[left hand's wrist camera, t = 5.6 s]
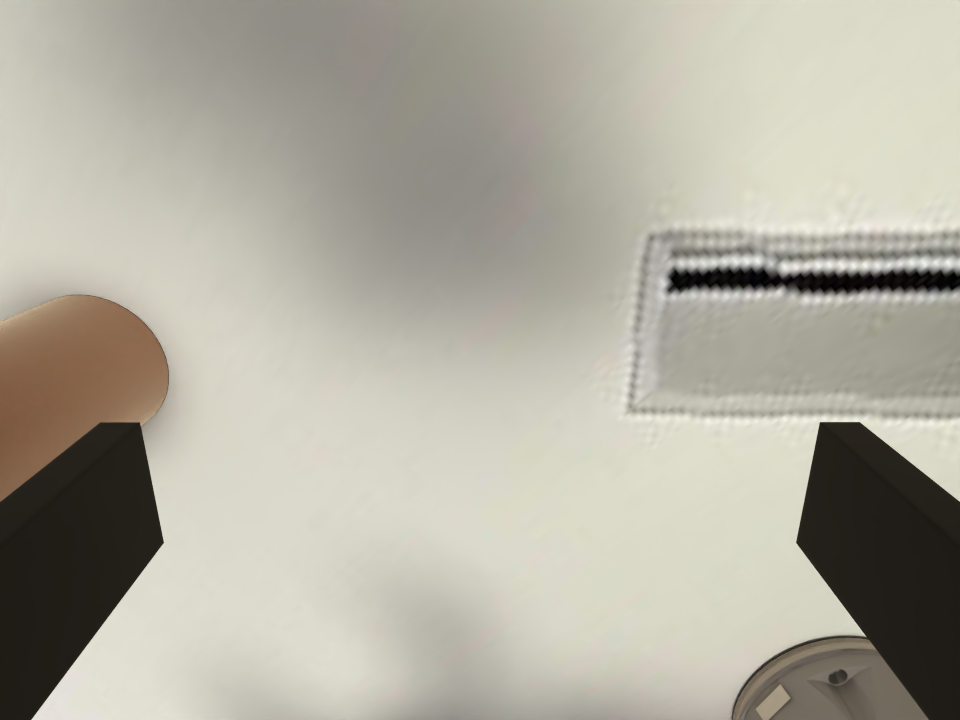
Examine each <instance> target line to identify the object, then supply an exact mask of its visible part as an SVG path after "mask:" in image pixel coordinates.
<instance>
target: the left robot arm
mask: <svg viewBox="0 0 960 720" xmlns="http://www.w3.org/2000/svg"><path fill="white" fill-rule="evenodd" d="M163 543H164V541H163V536H162V531H161V526H160V521H159V516H158V511H157V506H156V501H155V496H154V491H153V486H152V481H151V475H150V470H149V465H148V460H147V455H146V450H145V445H144V440H143V435H142V430H141V425H140V422H100V423H99V424H98V425H96V426H95V427H94V428H93V429H91V430H90V431H89V432H88V433H86V434H85V435H84V436H83V437H81V438H80V439H79V440H77V441H76V442H75V443H74V444H72V445H71V446H70V447H69V448H67V449H66V450H65V451H64V452H62V453H61V454H60V455H59V456H57V457H56V458H55V459H54V460H52V461H51V462H50V463H49V464H47V465H46V466H45V467H44V468H42V469H41V470H40V471H38V472H37V473H36V474H35V475H33V476H32V477H31V478H30V479H28V480H27V481H26V482H25V483H23V484H22V485H21V486H20V487H18V488H17V489H16V490H15V491H13V492H12V493H11V494H10V495H8V496H7V497H6V498H5V499H3V500H2V501H1V502H0V720H31V719H32V718H33V717H34V715H35V714H36V713H37V711H38V710H39V709H40V707H41V706H42V705H43V703H44V702H45V701H46V699H47V698H48V697H49V695H50V694H51V693H52V691H53V690H54V689H55V687H56V686H57V685H58V683H59V682H60V681H61V679H62V678H63V677H64V675H65V674H66V673H67V671H68V670H69V669H70V667H71V666H72V665H73V663H74V662H75V661H76V659H77V658H78V657H79V655H80V654H81V653H82V651H83V650H84V649H85V647H86V646H87V645H88V643H89V642H90V641H91V639H92V638H93V637H94V635H95V634H96V633H97V631H98V630H99V629H100V627H101V626H102V625H103V623H104V622H105V621H106V619H107V618H108V617H109V615H110V614H111V613H112V611H113V610H114V608H115V607H116V606H117V604H118V603H119V602H120V600H121V599H122V598H123V596H124V595H125V594H126V592H127V591H128V590H129V588H130V587H131V586H132V584H133V583H134V582H135V580H136V579H137V578H138V576H139V575H140V574H141V572H142V571H143V570H144V568H145V567H146V566H147V564H148V563H149V562H150V560H151V559H152V558H153V556H154V555H155V554H156V552H157V551H158V550H159V548H160V547H161V546H162V544H163ZM796 543H797V544H798V546H799V547H800V548H801V550H802V551H803V552H804V554H805V555H806V556H807V558H808V559H809V560H810V562H811V563H812V564H813V566H814V567H815V568H816V570H817V571H818V572H819V574H820V575H821V576H822V578H823V579H824V580H825V582H826V583H827V584H828V586H829V587H830V588H831V590H832V591H833V592H834V594H835V595H836V596H837V598H838V599H839V600H840V602H841V603H842V604H843V606H844V607H845V608H846V610H847V611H848V613H849V614H850V615H851V617H852V618H853V619H854V621H855V622H856V623H857V625H858V626H859V627H860V629H861V630H862V631H863V633H864V634H865V635H866V637H867V638H868V639H869V641H870V642H871V643H872V645H873V646H874V647H875V649H876V650H877V651H878V653H879V654H880V655H881V657H882V658H883V659H884V661H885V662H886V663H887V665H888V666H889V667H890V669H891V670H892V671H893V673H894V674H895V675H896V677H897V678H898V679H899V681H900V682H901V683H902V685H903V686H904V687H905V689H906V690H907V691H908V693H909V694H910V695H911V697H912V698H913V699H914V701H915V702H916V703H917V705H918V706H919V707H920V709H921V710H922V711H923V713H924V714H925V715H926V717H927V718H928V719H929V720H960V502H959V501H958V500H957V499H955V498H954V497H953V496H952V495H950V494H949V493H948V492H947V491H945V490H944V489H943V488H942V487H940V486H939V485H938V484H937V483H935V482H934V481H933V480H932V479H930V478H929V477H928V476H927V475H925V474H924V473H923V472H922V471H920V470H919V469H918V468H916V467H915V466H914V465H913V464H911V463H910V462H909V461H908V460H906V459H905V458H904V457H903V456H901V455H900V454H899V453H898V452H896V451H895V450H894V449H893V448H891V447H890V446H889V445H888V444H886V443H885V442H884V441H883V440H881V439H880V438H879V437H877V436H876V435H875V434H874V433H872V432H871V431H870V430H869V429H867V428H866V427H865V426H864V425H862V424H861V423H860V422H820V425H819V430H818V435H817V440H816V445H815V450H814V455H813V460H812V465H811V470H810V475H809V481H808V486H807V491H806V496H805V501H804V506H803V511H802V516H801V521H800V526H799V531H798V536H797V541H796Z"/></svg>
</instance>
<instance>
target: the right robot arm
mask: <svg viewBox="0 0 960 720" xmlns="http://www.w3.org/2000/svg"><path fill="white" fill-rule="evenodd" d="M733 720H929V719H928V718H927V717H926V715H925V714H924V713H923V711H922V710H921V709H920V707H919V706H918V705H917V703H916V702H915V701H914V699H913V698H912V697H911V695H910V694H909V693H908V691H907V690H906V689H905V687H904V686H903V685H902V683H901V682H900V681H899V679H898V678H897V677H896V675H895V674H894V673H893V671H892V670H891V669H890V667H889V666H888V665H887V663H886V662H885V661H884V659H883V658H882V657H881V655H880V654H879V653H878V651H877V650H876V649H875V647H874V646H873V645H872V643H871V642H870V641H869V639H862V638H835V639H827V640H822V641H817V642H813V643H809V644H806V645H803V646H800V647H798V648H795V649H793V650H791V651H789V652H787V653H785V654H783V655H781V656H779V657H778V658H776V659H774V660H773V661H771V662H770V663H769V664H767V665H766V666H765V667H763V668H762V669H761V670H760V671H759V672H758V673H757V674H756V675H755V676H754V677H753V678H752V679H751V680H750V681H749V682H748V684H747V685H746V686H745V688H744V689H743V691H742V693H741V695H740V696H739V698H738V701H737V703H736V706H735V710H734V714H733Z"/></svg>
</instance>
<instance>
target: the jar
mask: <svg viewBox="0 0 960 720" xmlns="http://www.w3.org/2000/svg"><path fill="white" fill-rule="evenodd" d="M168 378H169V375H168V366H167V362H166V358H165V355H164V353H163V350H162V348H161V346H160V344H159V342H158V340H157V339H156V337H155V336H154V334H153V333H152V332H151V330H150V329H149V328H148V327H147V326H146V325H145V324H144V323H143V322H142V321H141V320H140V319H139V318H138V317H137V316H135V315H134V314H132V313H131V312H130V311H128V310H127V309H125V308H123V307H121V306H120V305H118V304H115V303H113V302H111V301H108V300H105V299H102V298H99V297H93V296H87V295H70V296H64V297H59V298H56V299H53V300H50V301H48V302H46V303H43V304H41V305H38V306H36V307H34V308H31V309H29V310H27V311H24V312H22V313H19V314H17V315H15V316H12V317H10V318H7V319H5V320H3V321H0V502H1V501H2V500H3V499H5V498H6V497H7V496H8V495H10V494H11V493H12V492H13V491H15V490H16V489H17V488H18V487H20V486H21V485H22V484H23V483H25V482H26V481H27V480H28V479H30V478H31V477H32V476H33V475H35V474H36V473H37V472H38V471H40V470H41V469H42V468H44V467H45V466H46V465H47V464H49V463H50V462H51V461H52V460H54V459H55V458H56V457H57V456H59V455H60V454H61V453H62V452H64V451H65V450H66V449H67V448H69V447H70V446H71V445H72V444H74V443H75V442H76V441H77V440H79V439H80V438H81V437H83V436H84V435H85V434H86V433H88V432H89V431H90V430H91V429H93V428H94V427H95V426H96V425H98V424H99V423H100V422H140V425H141V427H142V426H143V425H144V424H145V423H146V422H147V421H148V420H149V419H151V418H152V417H153V416H154V415H155V414H156V412H157V411H158V410H159V408H160V407H161V405H162V403H163V401H164V399H165V396H166V393H167V388H168Z"/></svg>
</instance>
